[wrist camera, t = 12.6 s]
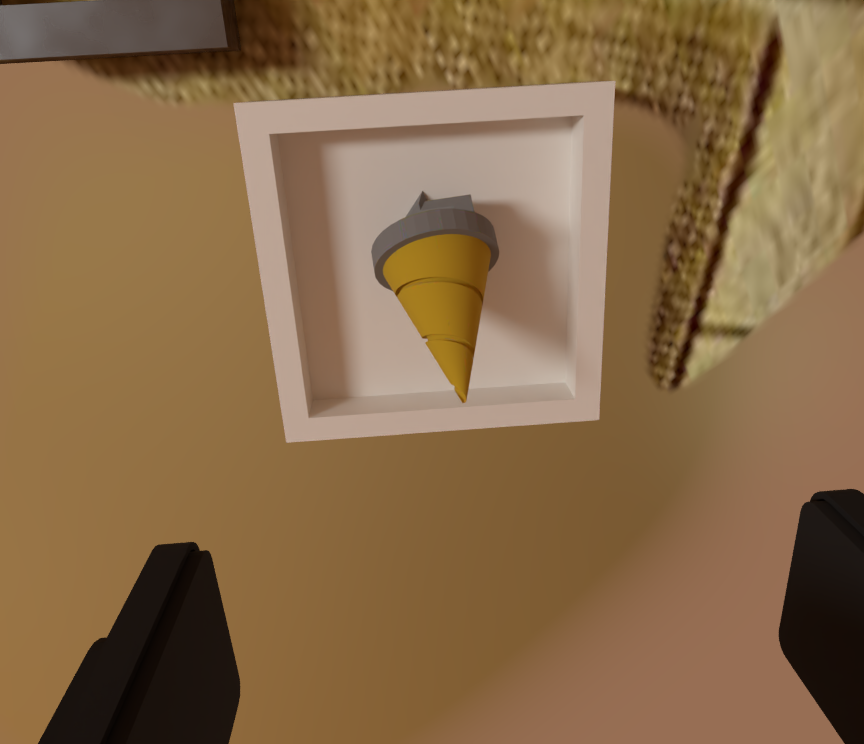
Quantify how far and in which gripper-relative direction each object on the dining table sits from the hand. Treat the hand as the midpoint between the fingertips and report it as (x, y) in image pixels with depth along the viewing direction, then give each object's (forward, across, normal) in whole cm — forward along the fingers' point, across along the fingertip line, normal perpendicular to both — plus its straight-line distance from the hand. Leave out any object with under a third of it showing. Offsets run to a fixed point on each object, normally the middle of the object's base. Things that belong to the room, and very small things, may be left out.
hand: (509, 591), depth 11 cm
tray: (+23, 0, 0) cm, 23 cm away
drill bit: (+22, 0, 0) cm, 23 cm away
